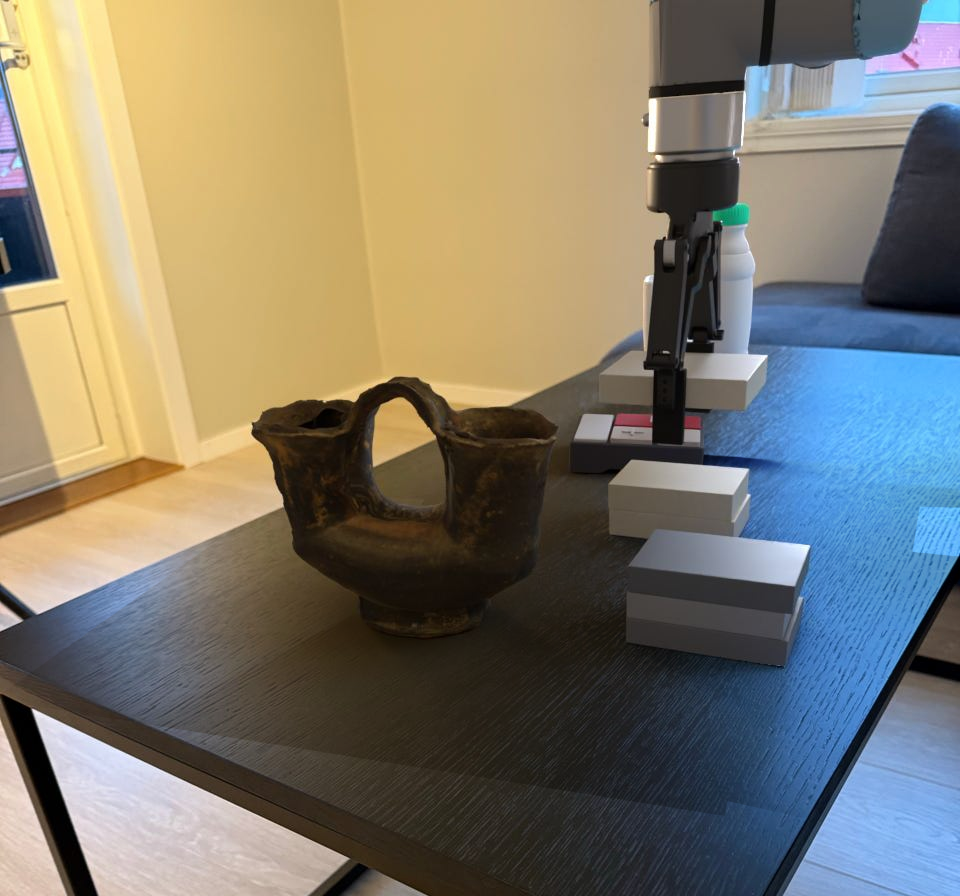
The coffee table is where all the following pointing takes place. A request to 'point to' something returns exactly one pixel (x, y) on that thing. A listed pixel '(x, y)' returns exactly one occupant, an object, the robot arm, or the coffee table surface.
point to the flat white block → (689, 380)
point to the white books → (678, 499)
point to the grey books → (717, 595)
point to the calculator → (629, 443)
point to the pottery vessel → (412, 529)
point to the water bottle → (735, 281)
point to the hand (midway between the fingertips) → (682, 426)
